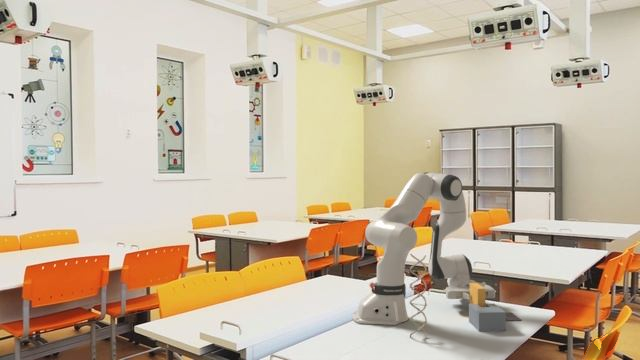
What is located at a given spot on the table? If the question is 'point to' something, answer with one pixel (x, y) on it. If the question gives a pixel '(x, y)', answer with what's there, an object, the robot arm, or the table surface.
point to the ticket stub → (477, 294)
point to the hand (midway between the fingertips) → (475, 297)
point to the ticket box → (487, 317)
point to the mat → (512, 317)
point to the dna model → (419, 295)
